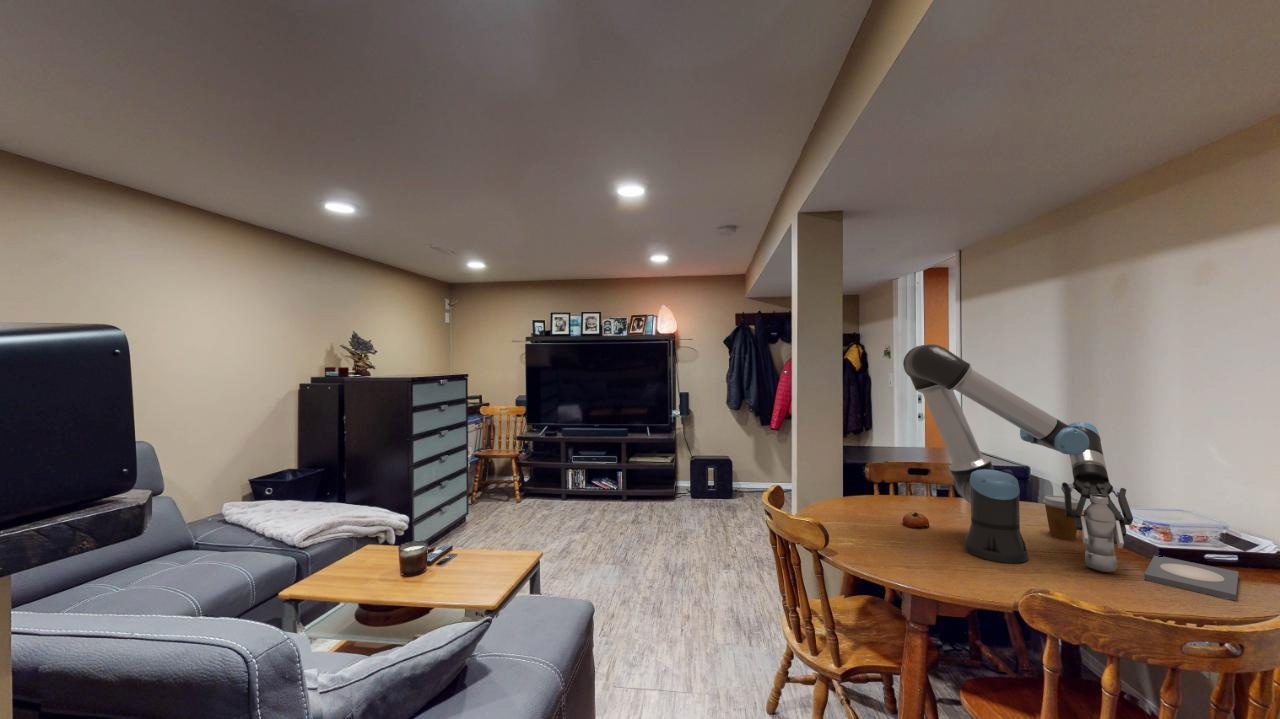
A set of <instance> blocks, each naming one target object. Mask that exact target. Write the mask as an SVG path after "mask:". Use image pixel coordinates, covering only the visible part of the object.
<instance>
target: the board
mask: <svg viewBox="0 0 1280 719" xmlns="http://www.w3.org/2000/svg"><path fill="white" fill-rule="evenodd" d="M1155 555H1156V554H1153V557H1152V559H1151V561H1150V562H1149V564H1148V566H1147V568H1146V570H1145V571H1144V576H1143V577H1144V578H1143V580H1144V581H1148V582H1152V583H1157V584H1159V585H1165V586H1170V587H1174V588H1178V589H1182V590H1186V591H1191V592H1194V591H1195V592H1196V593H1199V592H1200V594H1203V593H1205V594H1204V595H1207V594H1209V596H1211V595H1213V597H1216V596H1218V597H1217V598H1220V597H1222V598H1221V599H1224V598H1228V599H1232V600H1231V601H1233V600H1235V601H1234V602H1236V601H1237V596H1236V595H1237V594H1238V586H1237V585H1239V584H1238V583H1239V571H1237V570H1231V569H1226V568H1221V567H1216V566H1211V565H1208V564H1207V565H1206V564H1202V563H1196V562H1191V561H1187V560H1182V559H1177V558H1173V557H1168V556H1167V557H1166V556H1163V557H1158V556H1159V555H1158V556H1155ZM1228 599H1227V600H1228Z"/></svg>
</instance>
